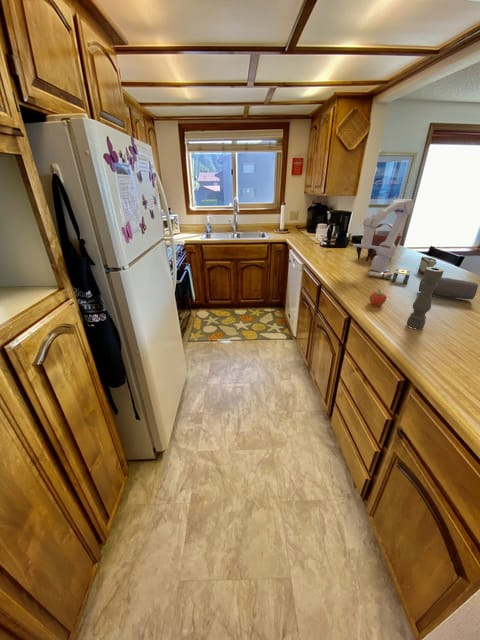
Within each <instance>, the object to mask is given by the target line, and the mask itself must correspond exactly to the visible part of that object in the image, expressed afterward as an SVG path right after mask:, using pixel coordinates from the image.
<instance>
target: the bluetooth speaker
mask: <svg viewBox="0 0 480 640" xmlns="http://www.w3.org/2000/svg"><path fill="white" fill-rule="evenodd" d="M422 282H424V276H422V277H421V280H420V282H419V286H418V292H420V293H421V290H422ZM436 284H437V287H436V288H435V289H434V291H433V293H432V297H434V298H435V297H436V298H442V299H447V300H456V299H460V300H461V299H462V300H470V301H471V300H474V298H475V297H476V295H477V292H478V291H477V290H478V288H479V284H478V283H477V282H472V281H468V280H462V279H456V278H449V277H441V279H440V280H439V281H438V282H437V283H436Z"/></svg>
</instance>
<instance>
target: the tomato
mask: <svg viewBox="0 0 480 640" xmlns="http://www.w3.org/2000/svg"><path fill="white" fill-rule="evenodd" d="M386 301H387V295H386V294H385V293H384V292H383V291H381V289H378V290H377V291H373V292H372V293H371V294H370V295H369V302H370V303H371V305H372V306H373V305H375V306H374V307H377V306H379V307H381V306H382V305H384V304H385V302H386Z"/></svg>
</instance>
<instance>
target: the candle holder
mask: <svg viewBox="0 0 480 640" xmlns="http://www.w3.org/2000/svg"><path fill="white" fill-rule="evenodd" d="M444 271H445V269H443V268H441V267H437V266H434V267H427V268H426V270H425V273H424V282H422V290H421V292H420V293H419V294H418V296H417V297H416V299H415V300H414V302H413V304H412V310H413V312H411V313H410V315H409V316H408V318H407V321H406V323H407V325H408V326H410V327H412V328H416V329H422V328H423V329H424V327H425V324H426V320H427V316H426V314H427V313H428V312H430V310H431V307H432V297H433V296H432V293H433V291H434V289H435V288H436V287H437V284H436V283H437V282H438V281H439V280H440V279H441V278H443V274H444ZM407 325H406V326H407ZM423 329H422V330H423Z"/></svg>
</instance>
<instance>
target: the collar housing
mask: <svg viewBox="0 0 480 640" xmlns="http://www.w3.org/2000/svg"><path fill="white" fill-rule="evenodd" d="M411 271H412V270H407V269H399V268H398V269H397V268H395V271H393V274H392V278H391V283H396V282H397V278H398V275H399V274H401V275H404V277H403V282H402V284H403V285H408V282H409V279H410V276H411V273H412V272H411Z"/></svg>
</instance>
